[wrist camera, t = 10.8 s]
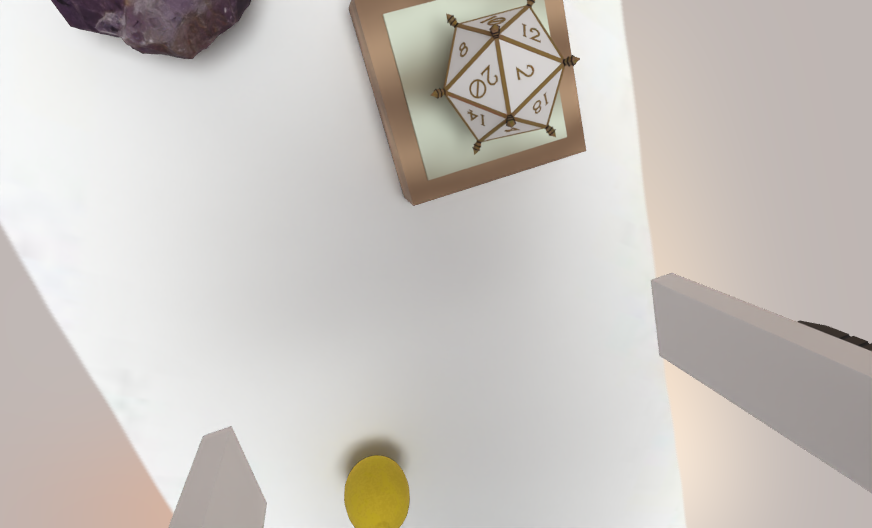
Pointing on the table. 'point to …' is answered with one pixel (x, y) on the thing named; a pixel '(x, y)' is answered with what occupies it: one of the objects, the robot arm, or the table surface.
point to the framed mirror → (436, 118)
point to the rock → (156, 22)
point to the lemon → (377, 494)
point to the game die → (503, 74)
